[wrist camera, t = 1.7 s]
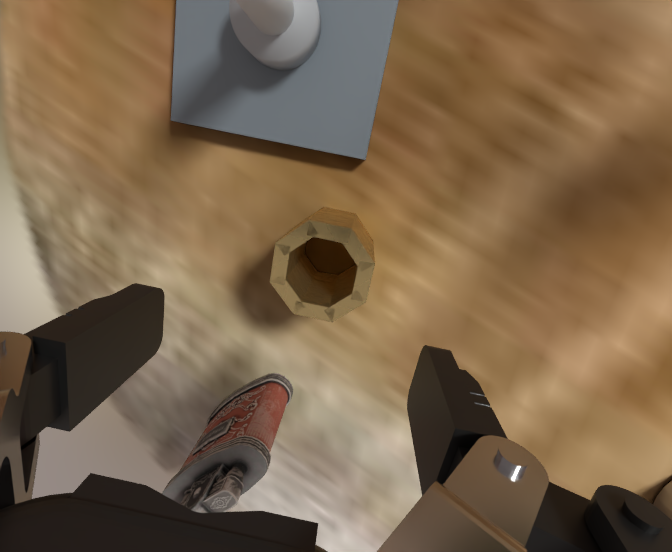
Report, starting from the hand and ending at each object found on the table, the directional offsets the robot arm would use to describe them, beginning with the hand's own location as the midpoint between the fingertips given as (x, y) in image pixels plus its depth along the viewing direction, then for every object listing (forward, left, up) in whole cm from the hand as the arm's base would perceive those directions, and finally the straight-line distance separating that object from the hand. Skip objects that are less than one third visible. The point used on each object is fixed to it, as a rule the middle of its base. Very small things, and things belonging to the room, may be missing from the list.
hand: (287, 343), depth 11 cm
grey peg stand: (+5, -12, -14) cm, 19 cm away
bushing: (0, 0, -14) cm, 14 cm away
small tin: (+4, +14, -14) cm, 20 cm away
